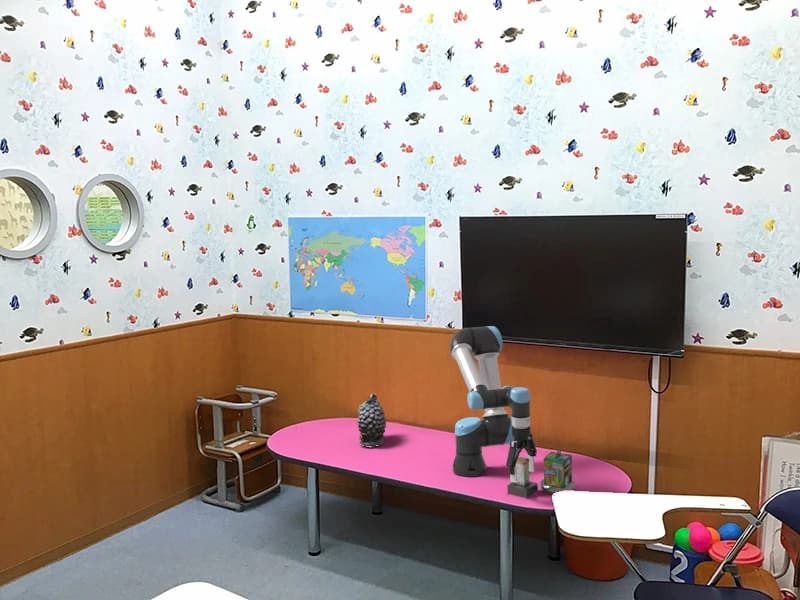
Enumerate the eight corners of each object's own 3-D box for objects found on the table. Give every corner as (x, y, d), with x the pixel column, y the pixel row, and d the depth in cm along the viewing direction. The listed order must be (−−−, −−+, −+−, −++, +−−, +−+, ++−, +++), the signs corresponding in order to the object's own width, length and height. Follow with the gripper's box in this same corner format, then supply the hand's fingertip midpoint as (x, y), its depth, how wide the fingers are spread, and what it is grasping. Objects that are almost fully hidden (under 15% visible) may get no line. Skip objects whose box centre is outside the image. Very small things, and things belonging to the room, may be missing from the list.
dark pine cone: (359, 437, 367) (357, 390, 364) (388, 436, 367) (385, 389, 364) (355, 450, 347) (353, 401, 344) (385, 449, 346) (383, 400, 343)
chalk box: (551, 477, 292) (551, 443, 291) (572, 481, 287) (572, 446, 285) (543, 484, 285) (542, 450, 283) (564, 489, 280) (563, 453, 278)
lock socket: (507, 493, 284) (507, 485, 284) (519, 486, 291) (518, 478, 290) (526, 498, 278) (526, 490, 278) (537, 491, 285) (537, 482, 285)
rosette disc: (534, 490, 286) (534, 484, 285) (550, 480, 296) (550, 474, 296) (565, 498, 276) (565, 492, 276) (581, 487, 287) (581, 481, 287)
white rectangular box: (515, 492, 284) (514, 459, 283) (520, 489, 288) (520, 456, 286) (524, 495, 281) (523, 462, 280) (530, 491, 285) (529, 458, 283)
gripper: (512, 435, 269) (514, 488, 272) (544, 419, 288) (545, 469, 291) (496, 432, 274) (498, 484, 277) (528, 417, 293) (529, 465, 295)
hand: (522, 476), depth 284 cm, fingers open, 13 cm apart
